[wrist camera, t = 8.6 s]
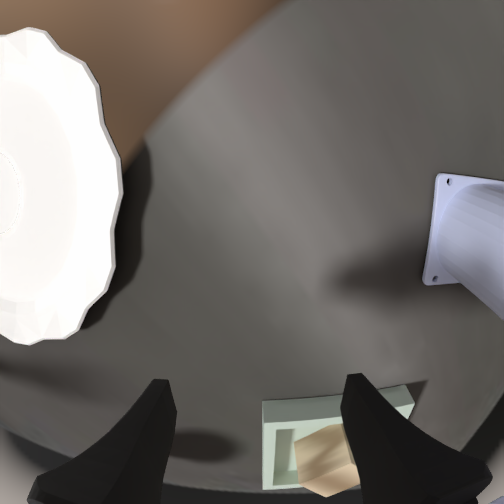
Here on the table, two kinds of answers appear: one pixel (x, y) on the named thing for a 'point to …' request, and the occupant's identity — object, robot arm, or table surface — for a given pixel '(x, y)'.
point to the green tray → (305, 430)
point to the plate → (53, 189)
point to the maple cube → (326, 461)
